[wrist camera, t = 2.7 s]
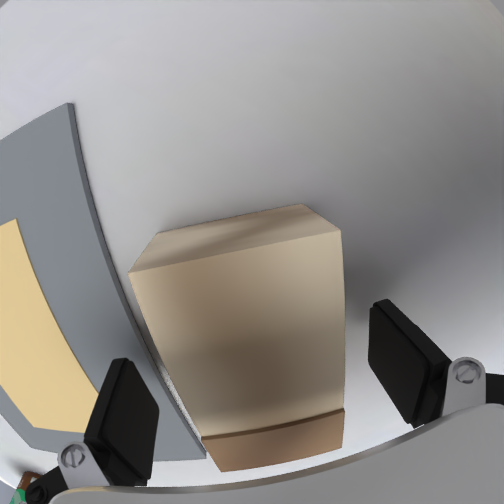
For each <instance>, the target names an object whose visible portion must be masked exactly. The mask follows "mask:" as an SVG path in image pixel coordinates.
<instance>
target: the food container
mask: <svg viewBox="0 0 504 504" xmlns="http://www.w3.org/2000/svg"><path fill="white" fill-rule="evenodd" d="M41 476H42V475H40V474H37V473H34V472H30V471H27V472H25V473H24V475H23V477H22V479H21V481H20V483H19V485H18V487H17V489H16V491H15V493H14V496H13V498H12V500H11V502H10V504H19V503H20V502H21V501H23V502H26V500H25V491H26V488H27V487H28V485H29V484H30V483H32V482H33V481H35V480H36V479H38V478H40V477H41Z"/></svg>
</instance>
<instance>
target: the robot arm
mask: <svg viewBox="0 0 504 504" xmlns="http://www.w3.org/2000/svg"><path fill="white" fill-rule="evenodd" d="M368 362H369V365H370V367H371V369H372V370H373V372H374V373H375V375H376V377H377V378H378V380H379V381H380V383H381V384H382V386H383V387H384V389H385V391H386V392H387V394H388V395H389V397H390V398H391V400H392V402H393V403H394V405H395V406H396V408H397V409H398V411H399V413H400V414H401V416H402V417H403V419H404V421H405V422H406V423H407V424H409V423H411V425H412V426H413V428H414V429H415V428H417V427H419V426H421V425H423V424H424V425H423V426H421V427H419V428H417V429H415V430H413V431H411V432H408V433H406V434H404V435H402V436H399V437H397V438H395V439H392V440H390V441H388V442H385V443H383V444H380V445H378V446H375V447H373V448H370V449H367V450H365V451H362V452H359V453H356V454H354V455H351V456H348V457H345V458H342V459H339V460H335V461H332V462H329V463H325V464H322V465H318V466H315V467H311V468H307V469H303V470H299V471H295V472H291V473H287V474H282V475H277V476H272V477H267V478H261V479H255V480H249V481H242V482H235V483H226V484H217V485H205V486H189V487H134V486H147V480H149V479H150V478H151V473H152V464H153V456H154V448H155V441H156V434H157V427H158V420H159V414H160V410H159V406H158V404H157V402H156V401H155V399H154V397H153V396H152V394H151V392H150V391H149V389H148V387H147V385H146V384H145V382H144V380H143V378H142V377H141V375H140V373H139V371H138V369H137V368H136V366H135V364H134V362H133V361H130V360H129V359H128V358H126V357H125V358H117V359H113V360H112V362H111V364H110V367H109V369H108V372H107V374H106V377H105V379H104V382H103V384H102V387H101V389H100V392H99V395H98V397H97V400H96V402H95V405H94V408H93V411H92V413H91V416H90V419H89V422H88V425H87V427H86V430H85V433H84V436H83V437H84V440H83V442H81V441H72V442H69V443H67V444H66V445H64V446H63V447H62V448H61V450H60V451H59V453H58V458H57V460H58V465H59V466H57V467H56V468H54V469H52V470H51V471H49V472H48V473H46V474H44V475H43V476H41V477H40V478H38V479H36V480H35V481H33V482H32V483H30V484H29V485H28V487H27V488H26V491H25V500H26V502H23V501H21V502H20V503H19V504H504V375H499V374H490V373H485V368H484V366H483V365H482V363H481V362H479V361H478V360H476V359H474V358H470V357H461V358H458V359H456V360H455V361H453V362H452V361H451V360H450V359H449V358H448V357H447V356H446V355H445V354H444V353H443V352H442V350H441V349H440V348H439V347H438V346H437V345H436V344H435V343H434V342H433V341H432V340H431V339H430V338H429V337H428V336H427V335H426V334H425V333H424V332H423V331H422V330H421V329H420V328H419V327H418V326H417V325H415V324H414V323H413V322H412V321H411V320H410V319H409V318H408V317H407V316H406V315H405V314H404V313H403V312H402V311H400V310H399V309H398V308H397V307H396V306H395V305H394V304H393V303H392V302H391V301H390V300H389V299H384V300H381V301H378V302H375V303H374V304H373V307H371V308H370V319H369V348H368Z"/></svg>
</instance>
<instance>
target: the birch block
mask: <svg viewBox="0 0 504 504" xmlns="http://www.w3.org/2000/svg"><path fill="white" fill-rule="evenodd" d="M128 276H129V279H130V282H131V285H132V288H133V291H134V293H135V296H136V299H137V301H138V304H139V307H140V309H141V312H142V314H143V317H144V319H145V322H146V324H147V327H148V329H149V332H150V334H151V336H152V339H153V341H154V343H155V346H156V348H157V350H158V352H159V355H160V357H161V359H162V361H163V364H164V366H165V368H166V370H167V372H168V374H169V376H170V378H171V380H172V382H173V385H174V387H175V389H176V391H177V393H178V395H179V396H180V398H181V400H182V402H183V404H184V406H185V408H186V410H187V412H188V414H189V416H190V417H191V419H192V421H193V423H194V425H195V426H196V428H197V430H198V432H199V433H200V435H201V441H202V443H203V444H204V446H205V448H206V449H207V451H208V452H209V454H210V456H211V457H212V459H213V460H214V462H215V464H216V465H217V467H218V468H219V470H220V471H221V472H228V471H237V470H245V469H252V468H258V467H264V466H270V465H275V464H280V463H285V462H290V461H294V460H299V459H303V458H307V457H311V456H315V455H319V454H322V453H326V452H329V451H333V450H336V449H339V448H342V440H343V430H344V417H345V411H344V408H343V404H344V383H345V294H344V271H343V254H342V240H341V230H340V229H338V228H337V227H336V226H334V225H333V224H331V223H330V222H328V221H327V220H325V219H324V218H323V217H321V216H320V215H318V214H317V213H315V212H314V211H312V210H311V209H309V208H308V207H306V206H305V205H303V204H297V205H292V206H286V207H281V208H276V209H270V210H265V211H260V212H255V213H250V214H245V215H240V216H235V217H230V218H225V219H220V220H215V221H210V222H206V223H201V224H196V225H192V226H187V227H183V228H178V229H174V230H169V231H165V232H160V233H157V234H156V235H155V236H154V238H153V239H152V240H151V242H150V243H149V244H148V246H147V247H146V248H145V250H144V251H143V252H142V254H141V255H140V257H139V258H138V259H137V261H136V262H135V264H134V265H133V266H132V268H131V269H130V271H129V272H128Z"/></svg>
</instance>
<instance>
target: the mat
mask: <svg viewBox="0 0 504 504" xmlns="http://www.w3.org/2000/svg"><path fill="white" fill-rule="evenodd" d="M125 357H126V358H128V359H129V360H130V361H133V362H134V364H135V366H136V368H137V369H138V371H139V373H140V375H141V377H142V378H143V380H144V382H145V384H146V385H147V387H148V389H149V391H150V392H151V394H152V396H153V397H154V399H155V401H156V402H157V404H158V406H159V410H160V414H159V420H158V427H157V434H156V441H155V448H154V456H153V461H182V460H198V459H206V452H205V450H204V449H203V447H202V445H201V444H200V442H199V441H198V439H197V438H196V436H195V434H194V433H193V431H192V430H191V428H190V426H189V425H188V423H187V421H186V420H185V418H184V416H183V415H182V413H181V411H180V410H179V408H178V406H177V404H176V403H175V401H174V399H173V397H172V395H171V394H170V392H169V390H168V388H167V386H166V384H165V382H164V381H163V379H162V377H161V375H160V373H159V371H158V369H157V367H156V365H155V363H154V361H153V359H152V357H151V355H150V353H149V351H148V349H147V346H146V344H145V342H144V340H143V338H142V336H141V334H140V331H139V329H138V327H137V325H136V322H135V320H134V318H133V315H132V313H131V311H130V308H129V306H128V303H127V301H126V298H125V296H124V293H123V291H122V288H121V286H120V283H119V280H118V278H117V275H116V272H115V270H114V267H113V264H112V261H111V258H110V255H109V252H108V249H107V246H106V243H105V240H104V237H103V234H102V231H101V228H100V224H99V221H98V218H97V214H96V211H95V207H94V204H93V200H92V196H91V192H90V188H89V184H88V180H87V176H86V172H85V168H84V163H83V158H82V154H81V149H80V144H79V138H78V133H77V127H76V121H75V115H74V108H73V104H70V103H65V104H63V105H61V106H59V107H57V108H55V109H53V110H51V111H49V112H47V113H46V114H44V115H42V116H40V117H38V118H36V119H35V120H33V121H31V122H29V123H28V124H26V125H24V126H23V127H21V128H19V129H18V130H16V131H14V132H13V133H11V134H10V135H8V136H7V137H5V138H3V139H2V140H0V414H1V415H2V416H3V417H4V419H5V420H6V421H7V422H8V423H9V424H10V426H11V427H12V428H13V429H14V430H15V431H16V432H17V433H18V434H19V436H20V437H21V438H22V439H23V440H24V441H25V442H26V443H27V444H28V445H29V446H30V447H31V448H34V449H38V450H43V451H48V452H53V453H59V451H60V450H61V448H62V447H63V446H64V445H66V444H67V443H69V442H72V441H81V442H83V440H84V437H83V436H84V433H85V430H86V427H87V425H88V422H89V419H90V416H91V413H92V411H93V408H94V405H95V402H96V400H97V397H98V395H99V392H100V389H101V387H102V384H103V382H104V379H105V377H106V374H107V372H108V369H109V367H110V364H111V362H112V360H113V359H117V358H125Z"/></svg>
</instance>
